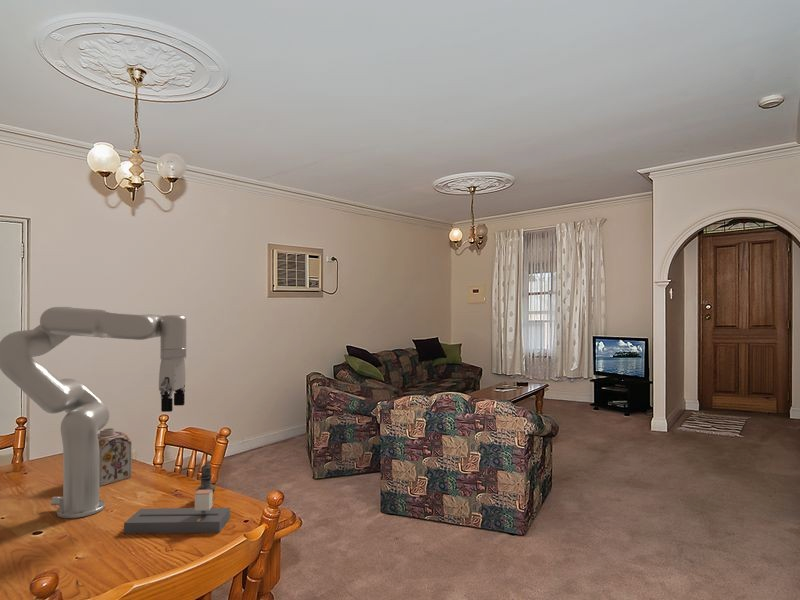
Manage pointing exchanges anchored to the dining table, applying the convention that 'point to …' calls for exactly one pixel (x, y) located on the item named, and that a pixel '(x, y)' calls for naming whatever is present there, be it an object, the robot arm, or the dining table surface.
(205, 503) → the fader
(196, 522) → the console
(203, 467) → the dark chess piece
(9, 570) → the dining table surface
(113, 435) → the decorative jar
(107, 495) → the dining table surface
